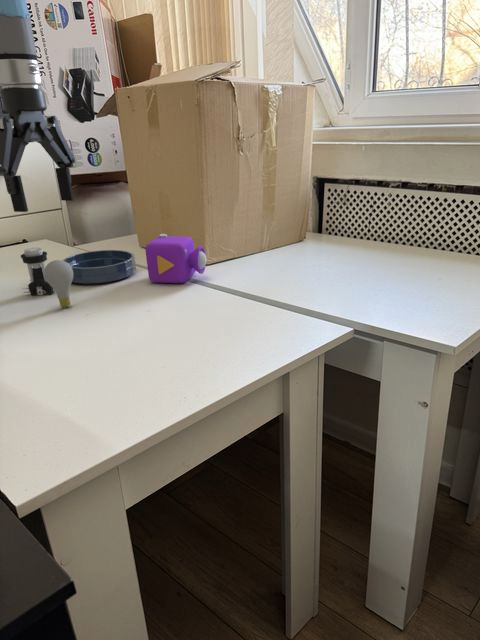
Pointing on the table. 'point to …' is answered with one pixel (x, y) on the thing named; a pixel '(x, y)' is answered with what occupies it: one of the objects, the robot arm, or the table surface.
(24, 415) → the table surface
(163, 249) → the toy camera
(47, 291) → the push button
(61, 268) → the light bulb
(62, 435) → the table surface
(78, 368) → the table surface
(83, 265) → the bowl
